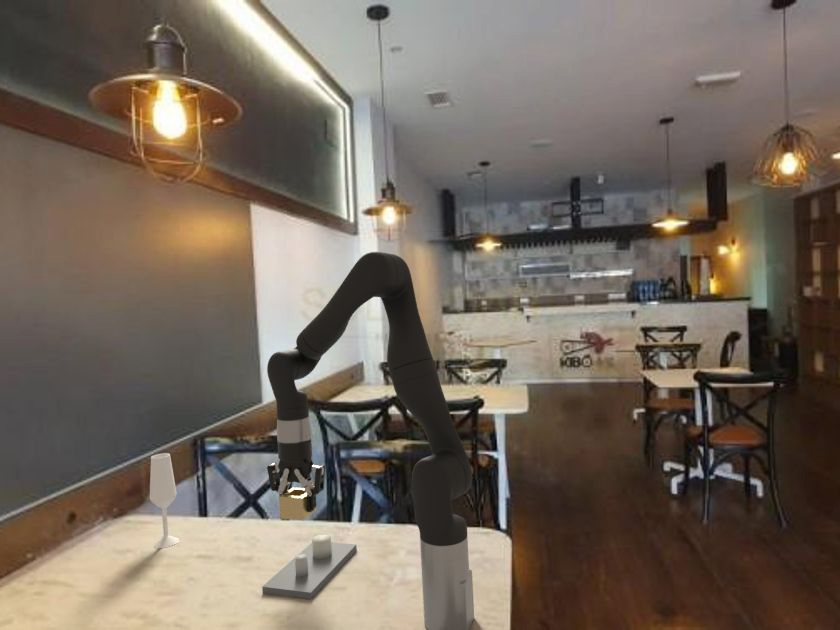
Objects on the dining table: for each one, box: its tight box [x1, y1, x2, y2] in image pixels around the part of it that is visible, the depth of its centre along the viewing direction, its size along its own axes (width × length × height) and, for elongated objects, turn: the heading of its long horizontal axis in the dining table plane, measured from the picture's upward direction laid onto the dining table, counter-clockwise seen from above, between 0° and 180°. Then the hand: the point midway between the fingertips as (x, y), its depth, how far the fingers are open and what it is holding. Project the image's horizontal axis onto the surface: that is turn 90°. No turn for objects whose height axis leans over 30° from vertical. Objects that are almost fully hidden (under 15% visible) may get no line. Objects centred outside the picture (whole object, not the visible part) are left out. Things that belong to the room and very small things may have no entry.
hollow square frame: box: [278, 487, 317, 521], centre depth 131 cm, size 6×6×5 cm
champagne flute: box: [149, 452, 180, 549], centre depth 156 cm, size 7×7×24 cm
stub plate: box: [261, 534, 358, 600], centre depth 136 cm, size 12×24×6 cm, turn 162°
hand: (298, 509), depth 131 cm, fingers closed on hollow square frame, 6 cm apart
